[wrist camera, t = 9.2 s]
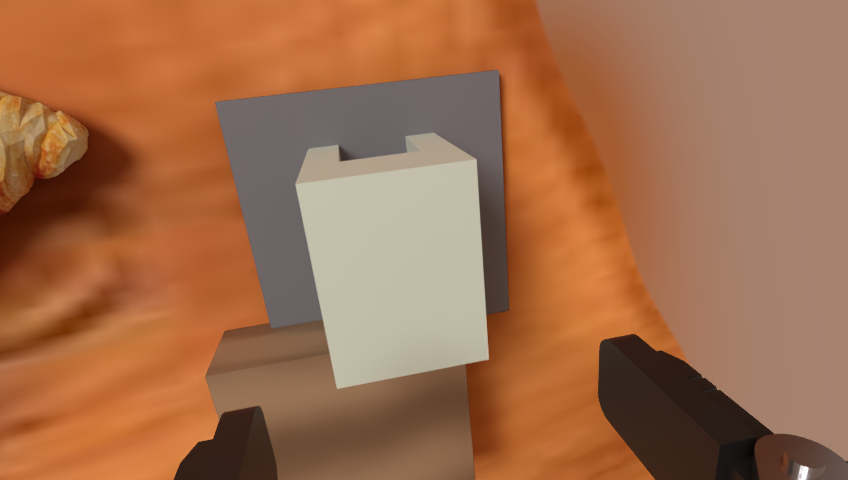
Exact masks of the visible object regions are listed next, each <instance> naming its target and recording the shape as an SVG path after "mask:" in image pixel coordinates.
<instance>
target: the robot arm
mask: <svg viewBox="0 0 848 480" xmlns="http://www.w3.org/2000/svg"><path fill="white" fill-rule="evenodd" d="M598 396H599V402H600V405H601V408H602V411H603V413H604V415H605V417H606V418H607V420H608V421H609V422H610V424H611V425H612V426H613V427H614V429H615V430H616V431H617V432H618V434H619V435H620V436H621V437H622V439H623V440H624V441H625V442H626V444H627V445H628V446H629V447H630V449H631V450H632V451H633V452H634V454H635V455H636V456H637V457H638V459H639V460H640V461H641V462H642V464H643V465H644V466H645V467H646V469H647V470H648V471H649V472H650V474H651V475H652V476H653V477H654V479H655V480H848V461H845V460H843V459H842V458H841V457H840V456H839V455H837V454H836V453H835V452H833V451H832V450H830V449H829V448H827V447H825V446H823V445H821V444H819V443H817V442H814V441H812V440H809V439H806V438H803V437H799V436H795V435H789V434H774V433H773V432H771V431H770V430H769V429H768V428H766V427H765V426H764V425H763V424H761V423H760V422H759V421H758V420H756V419H755V418H754V417H753V416H752V415H750V414H749V413H748V412H747V411H745V410H744V409H743V408H741V407H740V406H739V405H738V404H737V403H735V402H734V401H733V400H732V399H730V398H729V397H728V396H726V395H725V394H724V393H723V392H722V391H720V390H717V389H716V386H714V385H713V384H712V383H711V382H709V381H708V380H707V379H706V378H702V376H701V374H699V373H698V372H697V371H696V370H694V369H693V368H692V367H691V366H689V365H688V364H687V363H686V362H685V361H683V360H681V359H678V358H676V357H674V356H672V355H670V354H668V353H665V352H663V351H655V350H654V349H653V348H652V347H650V346H649V345H648V344H647V343H646V342H645V341H643V340H642V339H641V338H640V337H639V336H637V335H635V334H631V335H626V336H620V337H615V338H610V339H605V340H603V341H602V342H601V344H600V351H599V382H598ZM174 480H278V475H277V465H276V460H275V456H274V452H273V448H272V444H271V440H270V437H269V433H268V429H267V425H266V422H265V418H264V414H263V411H262V409H261V407H260V406H254V407H249V408H243V409H238V410H233V411H228V412H224V413H223V414H222V415H221V418H220V420H219V423H218V426H217V429H216V432H215V435H214V438H213V439H212V440H207V441H202V442H198V443H197V444H196V446H195V447H194V448H193V449H192V450H191V451H190V453H189V454H188V455H187V456H186V457H185V458H184V459H183V461H182V462H181V463H180V465H179V468H178V470H177V473H176V475H175V478H174Z"/></svg>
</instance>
